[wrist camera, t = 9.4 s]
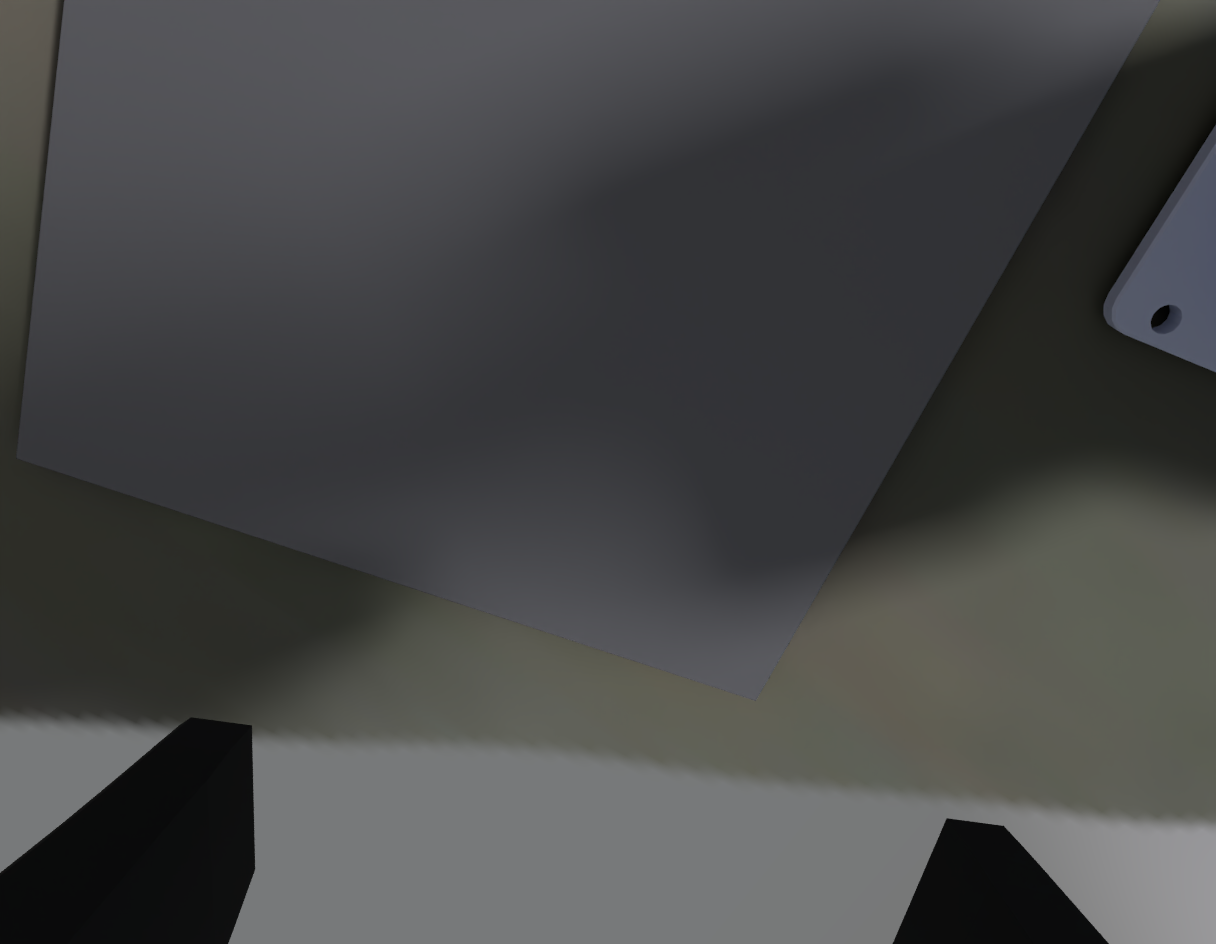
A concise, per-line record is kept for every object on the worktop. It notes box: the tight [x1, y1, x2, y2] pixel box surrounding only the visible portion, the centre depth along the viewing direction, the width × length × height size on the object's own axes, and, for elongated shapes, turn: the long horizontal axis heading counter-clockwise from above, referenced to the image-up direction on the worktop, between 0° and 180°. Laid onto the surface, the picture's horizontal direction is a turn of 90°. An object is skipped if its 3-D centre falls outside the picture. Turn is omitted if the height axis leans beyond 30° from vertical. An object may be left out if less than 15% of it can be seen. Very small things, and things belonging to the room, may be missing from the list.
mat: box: [16, 0, 1160, 701], centre depth 16 cm, size 16×16×1 cm
